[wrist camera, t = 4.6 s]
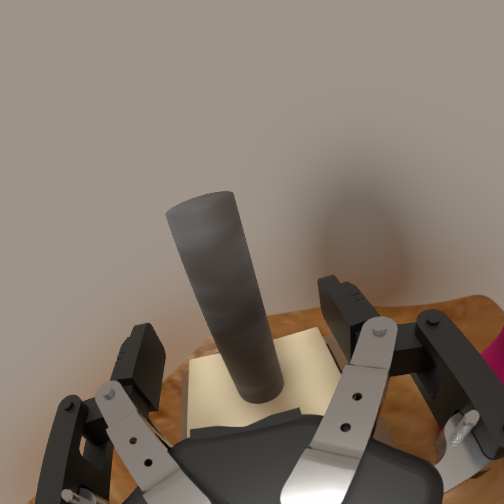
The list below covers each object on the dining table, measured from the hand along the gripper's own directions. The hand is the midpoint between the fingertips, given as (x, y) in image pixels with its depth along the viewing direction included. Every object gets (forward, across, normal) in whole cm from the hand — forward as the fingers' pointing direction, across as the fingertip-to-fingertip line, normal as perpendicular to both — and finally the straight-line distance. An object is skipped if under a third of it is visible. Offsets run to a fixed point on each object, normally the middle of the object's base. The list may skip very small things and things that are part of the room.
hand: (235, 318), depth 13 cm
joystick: (+1, 0, +12) cm, 12 cm away
